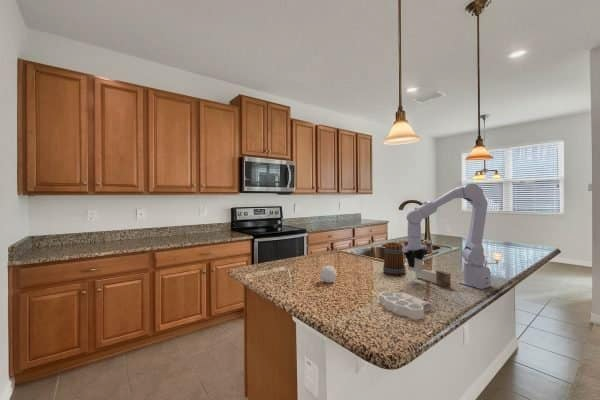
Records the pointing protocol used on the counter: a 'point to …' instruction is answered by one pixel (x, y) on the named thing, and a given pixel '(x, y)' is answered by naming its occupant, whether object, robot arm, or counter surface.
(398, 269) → the mug
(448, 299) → the counter surface
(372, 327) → the counter surface
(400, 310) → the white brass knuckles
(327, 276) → the ball
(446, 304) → the counter surface
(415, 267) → the white small block
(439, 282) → the wall
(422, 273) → the door
